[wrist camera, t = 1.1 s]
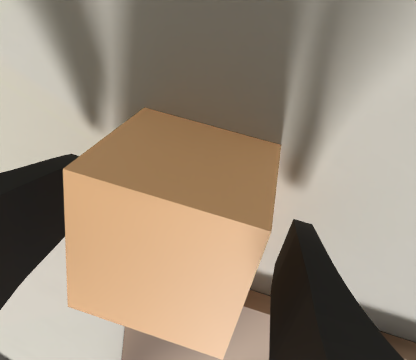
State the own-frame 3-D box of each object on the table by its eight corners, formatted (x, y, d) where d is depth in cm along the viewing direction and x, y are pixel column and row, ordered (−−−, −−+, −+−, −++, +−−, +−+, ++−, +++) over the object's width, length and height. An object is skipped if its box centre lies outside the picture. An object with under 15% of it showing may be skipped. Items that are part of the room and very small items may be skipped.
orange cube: (281, 144, 12) (271, 231, 7) (245, 249, 14) (222, 360, 10) (145, 106, 12) (62, 168, 8) (134, 215, 15) (67, 306, 10)
